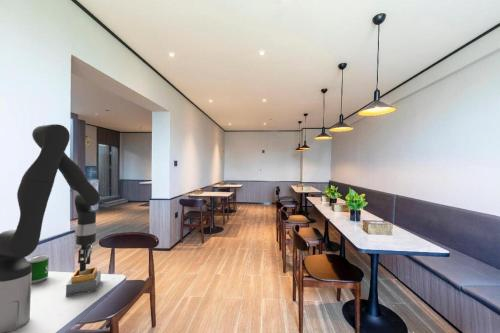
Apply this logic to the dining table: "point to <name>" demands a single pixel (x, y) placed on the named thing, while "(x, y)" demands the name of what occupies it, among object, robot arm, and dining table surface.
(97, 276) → the box
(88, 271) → the walnut plug
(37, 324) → the dining table surface
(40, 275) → the soda can
